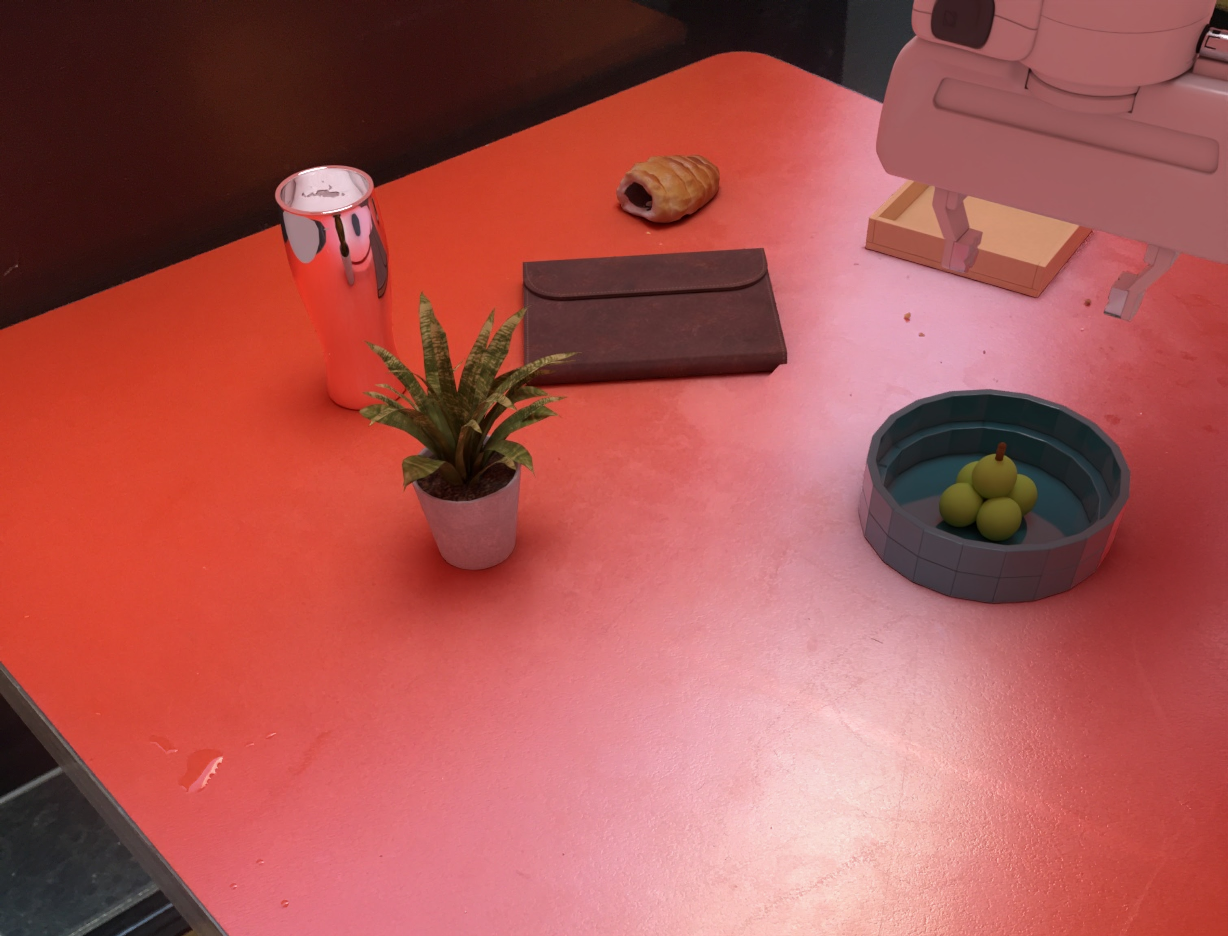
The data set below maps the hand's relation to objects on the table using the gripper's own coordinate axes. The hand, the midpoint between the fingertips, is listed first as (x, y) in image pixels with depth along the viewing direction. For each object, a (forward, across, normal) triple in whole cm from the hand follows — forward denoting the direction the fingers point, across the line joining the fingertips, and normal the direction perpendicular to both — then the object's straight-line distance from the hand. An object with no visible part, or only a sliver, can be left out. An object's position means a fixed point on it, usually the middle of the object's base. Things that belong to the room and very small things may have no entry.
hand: (1037, 289), depth 68 cm
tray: (+17, +15, -34) cm, 41 cm away
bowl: (+17, 0, 0) cm, 17 cm away
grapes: (+16, 0, 0) cm, 16 cm away
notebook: (+17, +32, -10) cm, 37 cm away
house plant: (+17, +27, +20) cm, 37 cm away
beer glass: (+17, +46, +8) cm, 50 cm away
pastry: (+17, +41, -26) cm, 52 cm away
